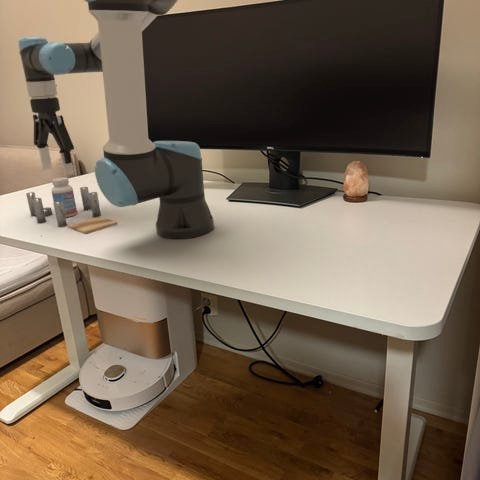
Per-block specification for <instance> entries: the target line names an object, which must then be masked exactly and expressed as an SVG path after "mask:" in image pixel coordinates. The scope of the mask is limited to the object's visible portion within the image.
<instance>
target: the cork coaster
mask: <svg viewBox="0 0 480 480" xmlns="http://www.w3.org/2000/svg"><path fill="white" fill-rule="evenodd" d="M118 224H119V223H118V221H115V220H112V219H109V218H105V217H103V216H98V217H91V218H88V219H84V220H81V221H78V222H74V223H70V224H67V225H66V227H67V228H69V229H71V230H74V231H76V232H79V233H82V234H85V235H87V234H90V233H91V234H92V233H94V232H96V231H100V230H103V229H107V228H109V227H110V228H111V227H112V226H115V225H118Z"/></svg>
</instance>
